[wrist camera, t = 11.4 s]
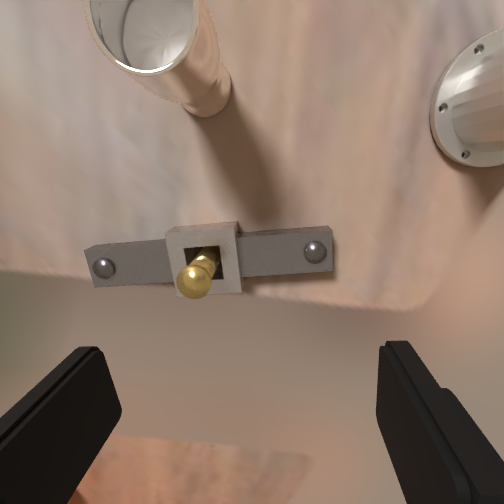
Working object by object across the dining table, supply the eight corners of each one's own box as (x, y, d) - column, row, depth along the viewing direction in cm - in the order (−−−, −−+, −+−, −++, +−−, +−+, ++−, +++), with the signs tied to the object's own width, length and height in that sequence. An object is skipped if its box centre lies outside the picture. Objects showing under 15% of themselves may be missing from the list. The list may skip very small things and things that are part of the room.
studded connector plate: (327, 213, 32) (334, 218, 29) (328, 275, 35) (335, 286, 31) (92, 233, 35) (73, 241, 31) (108, 289, 37) (92, 302, 34)
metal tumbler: (186, 35, 28) (100, -106, 13) (246, 69, 28) (224, -31, 14) (162, 102, 30) (64, 42, 16) (218, 133, 30) (174, 102, 16)
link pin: (222, 241, 34) (207, 265, 26) (226, 266, 35) (212, 297, 27) (196, 243, 34) (173, 268, 26) (200, 267, 35) (179, 299, 27)
